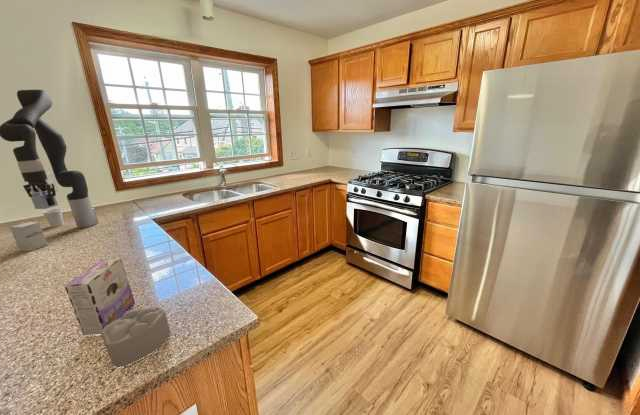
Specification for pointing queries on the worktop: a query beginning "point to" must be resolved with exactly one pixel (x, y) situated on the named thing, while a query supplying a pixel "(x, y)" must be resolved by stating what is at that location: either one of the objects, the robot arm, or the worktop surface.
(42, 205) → the blue block
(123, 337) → the grey lumpy block
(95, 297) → the candy box
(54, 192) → the robot arm
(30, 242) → the supplement box
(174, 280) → the worktop surface
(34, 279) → the worktop surface
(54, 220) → the dixie cup
